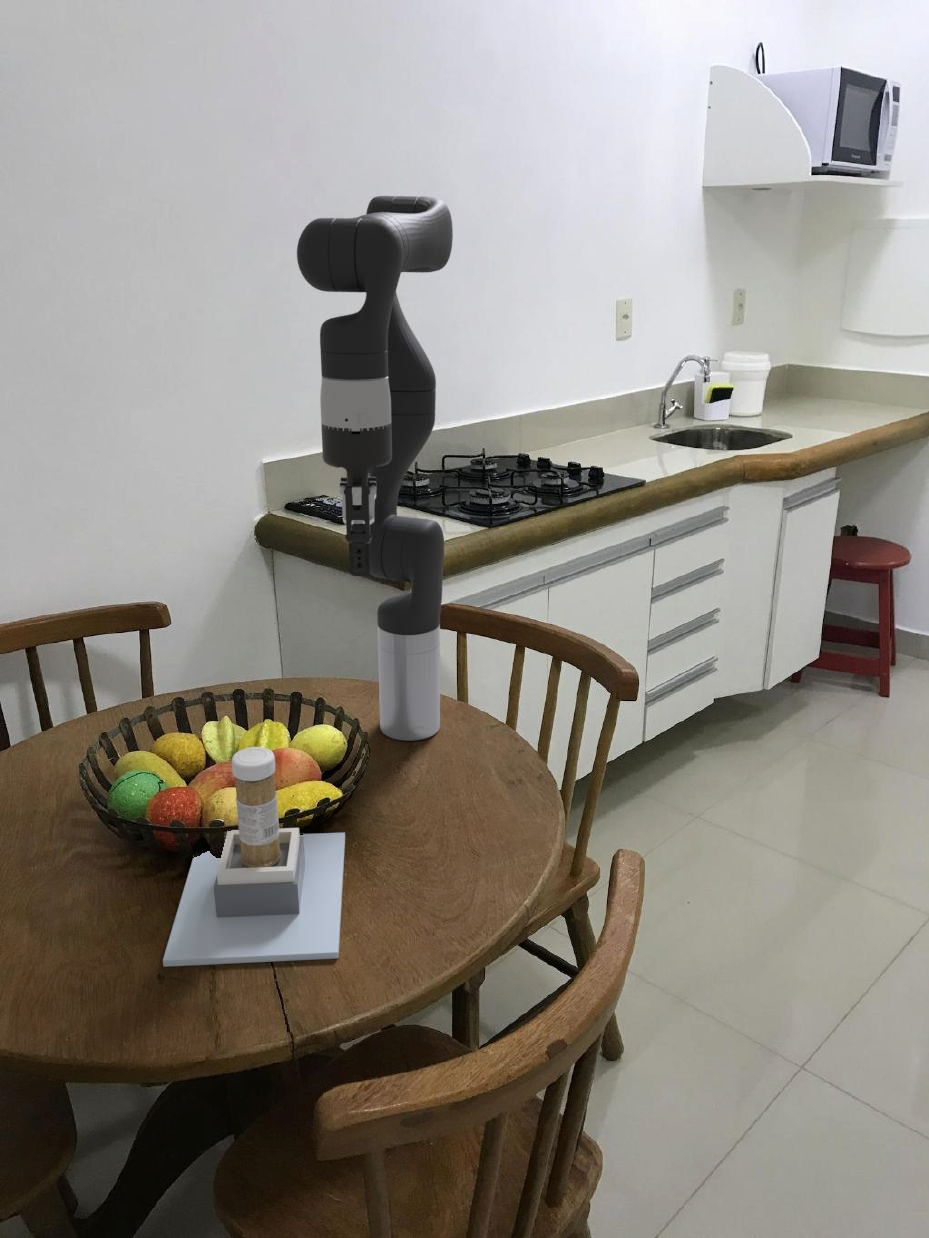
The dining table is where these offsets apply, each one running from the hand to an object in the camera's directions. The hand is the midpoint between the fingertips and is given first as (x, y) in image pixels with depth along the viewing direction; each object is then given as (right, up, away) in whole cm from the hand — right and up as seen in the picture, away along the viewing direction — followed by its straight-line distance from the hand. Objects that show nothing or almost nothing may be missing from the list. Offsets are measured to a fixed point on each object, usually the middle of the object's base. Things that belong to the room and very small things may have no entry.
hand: (360, 562), depth 111 cm
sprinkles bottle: (-11, -34, 0) cm, 36 cm away
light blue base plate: (-11, -38, +1) cm, 40 cm away
